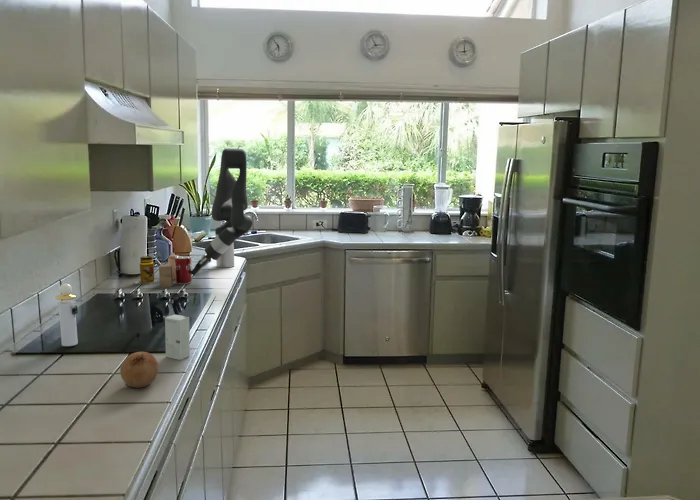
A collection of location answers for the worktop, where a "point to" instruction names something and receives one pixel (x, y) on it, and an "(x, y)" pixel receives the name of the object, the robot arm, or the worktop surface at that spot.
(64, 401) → the worktop surface
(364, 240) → the worktop surface
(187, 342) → the skincare box
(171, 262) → the tan rounded cylinder
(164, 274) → the block
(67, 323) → the perfume bottle
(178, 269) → the soda can
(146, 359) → the onion
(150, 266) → the yellow coffee bottle can
